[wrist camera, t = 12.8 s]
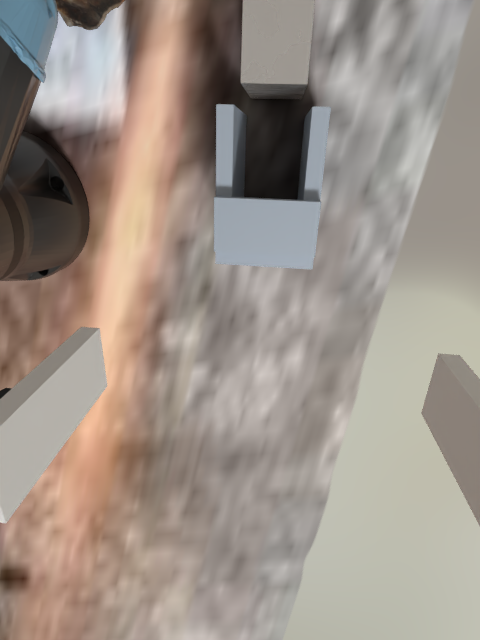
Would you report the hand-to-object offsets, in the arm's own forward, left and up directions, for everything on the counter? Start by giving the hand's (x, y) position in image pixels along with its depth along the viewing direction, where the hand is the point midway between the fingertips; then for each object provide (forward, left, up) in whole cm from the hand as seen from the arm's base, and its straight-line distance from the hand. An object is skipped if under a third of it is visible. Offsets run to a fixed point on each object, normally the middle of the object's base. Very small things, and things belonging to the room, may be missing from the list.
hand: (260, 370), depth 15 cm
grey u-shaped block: (-2, +5, -27) cm, 27 cm away
